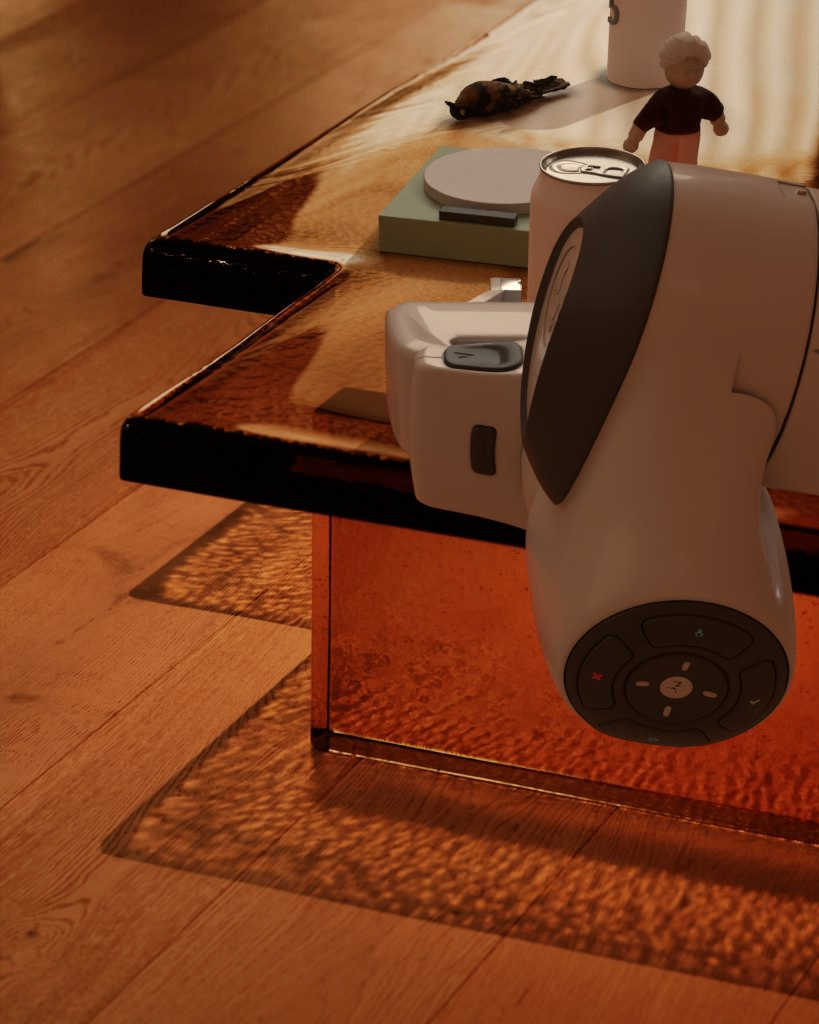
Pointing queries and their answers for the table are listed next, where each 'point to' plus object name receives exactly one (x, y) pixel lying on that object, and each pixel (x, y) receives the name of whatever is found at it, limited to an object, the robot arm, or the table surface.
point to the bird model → (501, 96)
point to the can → (568, 196)
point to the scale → (465, 206)
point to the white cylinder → (641, 40)
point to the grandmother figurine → (679, 104)
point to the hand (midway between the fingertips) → (606, 292)
